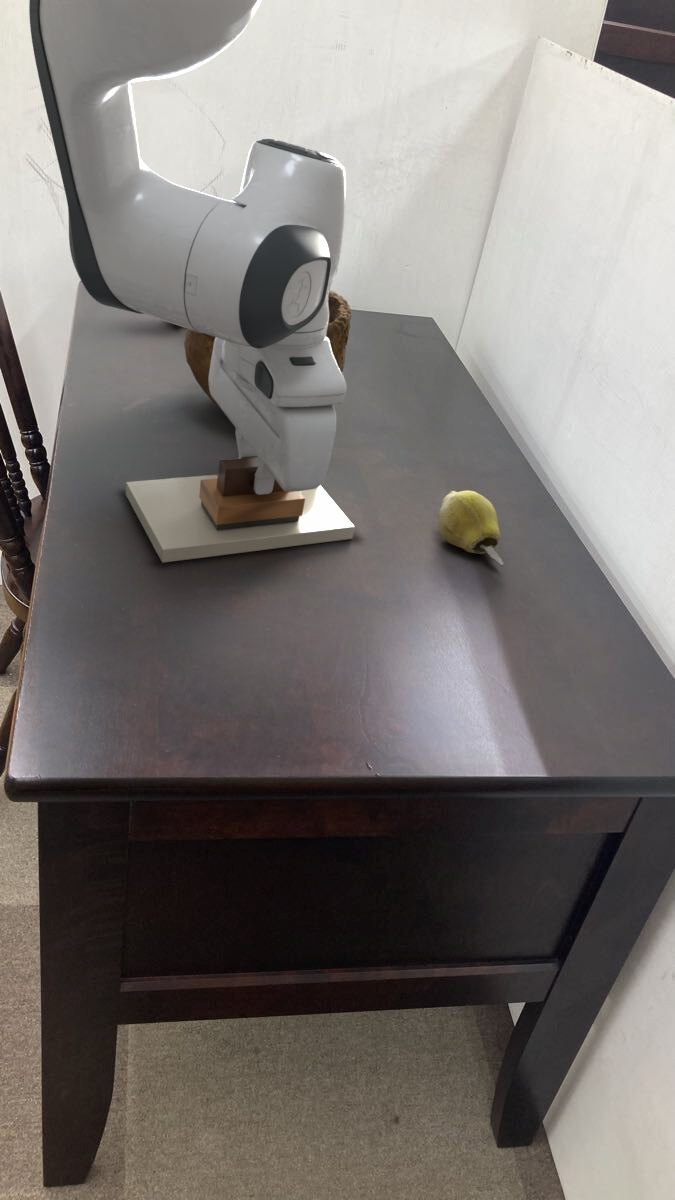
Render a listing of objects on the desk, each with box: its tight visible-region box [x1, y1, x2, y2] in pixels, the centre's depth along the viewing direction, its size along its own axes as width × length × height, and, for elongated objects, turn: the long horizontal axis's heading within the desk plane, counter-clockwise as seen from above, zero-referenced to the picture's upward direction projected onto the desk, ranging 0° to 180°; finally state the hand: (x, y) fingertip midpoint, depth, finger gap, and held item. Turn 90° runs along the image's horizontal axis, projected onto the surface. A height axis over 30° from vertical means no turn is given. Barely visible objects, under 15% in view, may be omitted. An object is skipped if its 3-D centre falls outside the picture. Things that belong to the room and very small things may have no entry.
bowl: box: [183, 289, 352, 408], centre depth 106 cm, size 19×19×15 cm
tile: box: [125, 474, 356, 563], centre depth 90 cm, size 20×12×2 cm, turn 116°
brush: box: [199, 457, 305, 530], centre depth 86 cm, size 9×5×6 cm, turn 116°
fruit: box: [436, 490, 504, 567], centre depth 92 cm, size 6×6×10 cm
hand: (254, 482), depth 86 cm, fingers closed on brush
